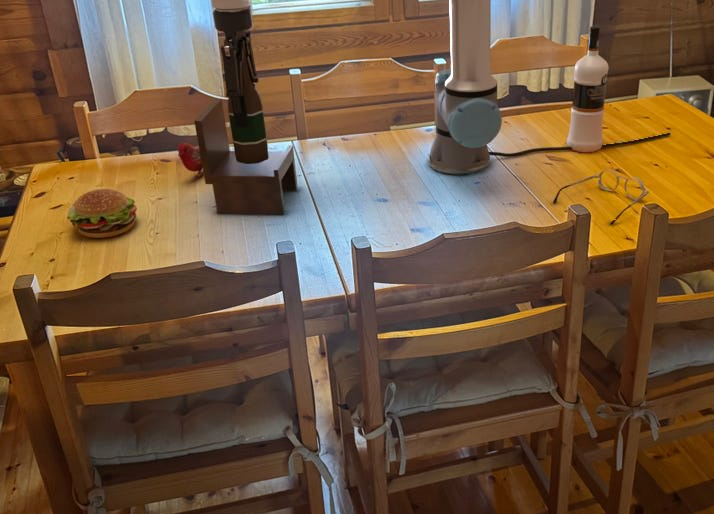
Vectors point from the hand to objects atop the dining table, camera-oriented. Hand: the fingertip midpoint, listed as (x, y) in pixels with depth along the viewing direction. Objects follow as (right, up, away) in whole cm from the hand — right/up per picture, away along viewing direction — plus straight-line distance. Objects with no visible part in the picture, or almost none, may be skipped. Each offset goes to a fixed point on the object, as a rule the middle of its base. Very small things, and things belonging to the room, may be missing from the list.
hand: (247, 119), depth 177 cm
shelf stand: (0, -16, +11) cm, 19 cm away
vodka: (+80, +3, +36) cm, 88 cm away
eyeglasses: (+78, -17, +7) cm, 80 cm away
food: (-31, -24, 0) cm, 39 cm away
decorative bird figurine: (-17, -7, +25) cm, 30 cm away
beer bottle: (0, -7, +5) cm, 9 cm away
